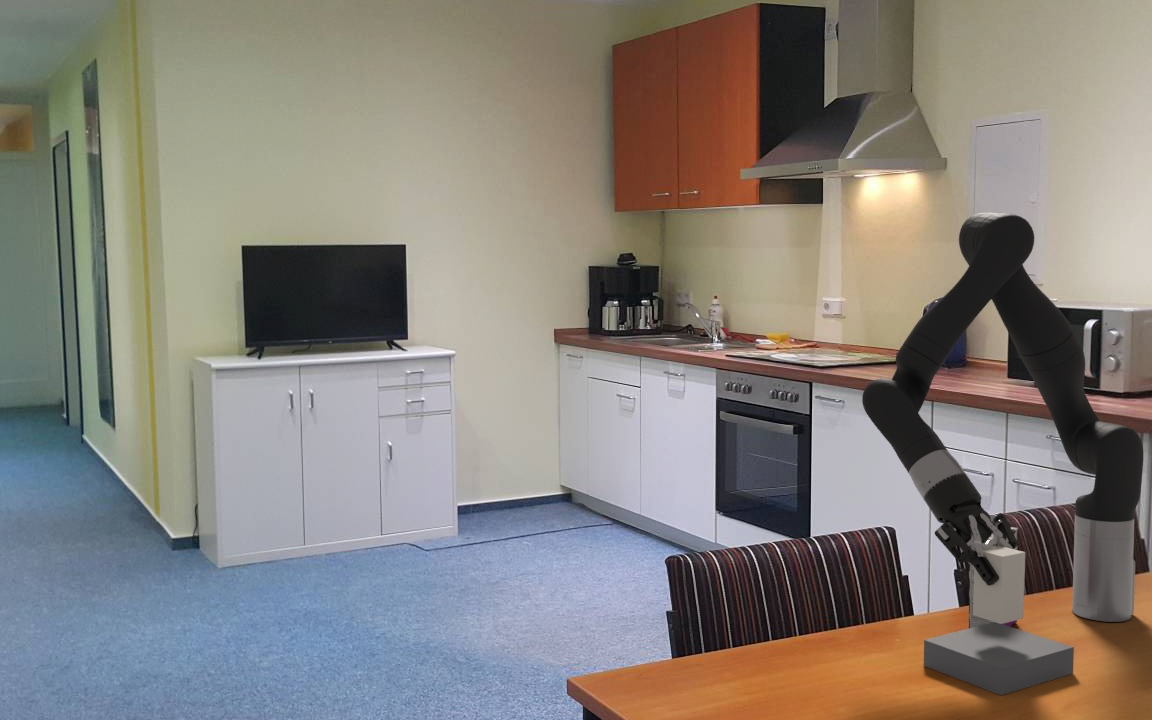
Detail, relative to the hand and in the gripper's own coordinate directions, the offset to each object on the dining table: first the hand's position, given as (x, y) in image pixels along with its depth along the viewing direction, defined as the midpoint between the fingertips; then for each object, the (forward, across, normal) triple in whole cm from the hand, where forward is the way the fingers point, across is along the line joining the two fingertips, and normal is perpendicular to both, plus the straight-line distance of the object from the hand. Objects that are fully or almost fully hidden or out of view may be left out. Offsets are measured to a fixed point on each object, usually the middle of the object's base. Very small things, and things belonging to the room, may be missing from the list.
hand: (1006, 579), depth 166 cm
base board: (+9, 0, +11) cm, 14 cm away
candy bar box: (0, +15, +20) cm, 25 cm away
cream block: (+3, 0, +5) cm, 6 cm away
